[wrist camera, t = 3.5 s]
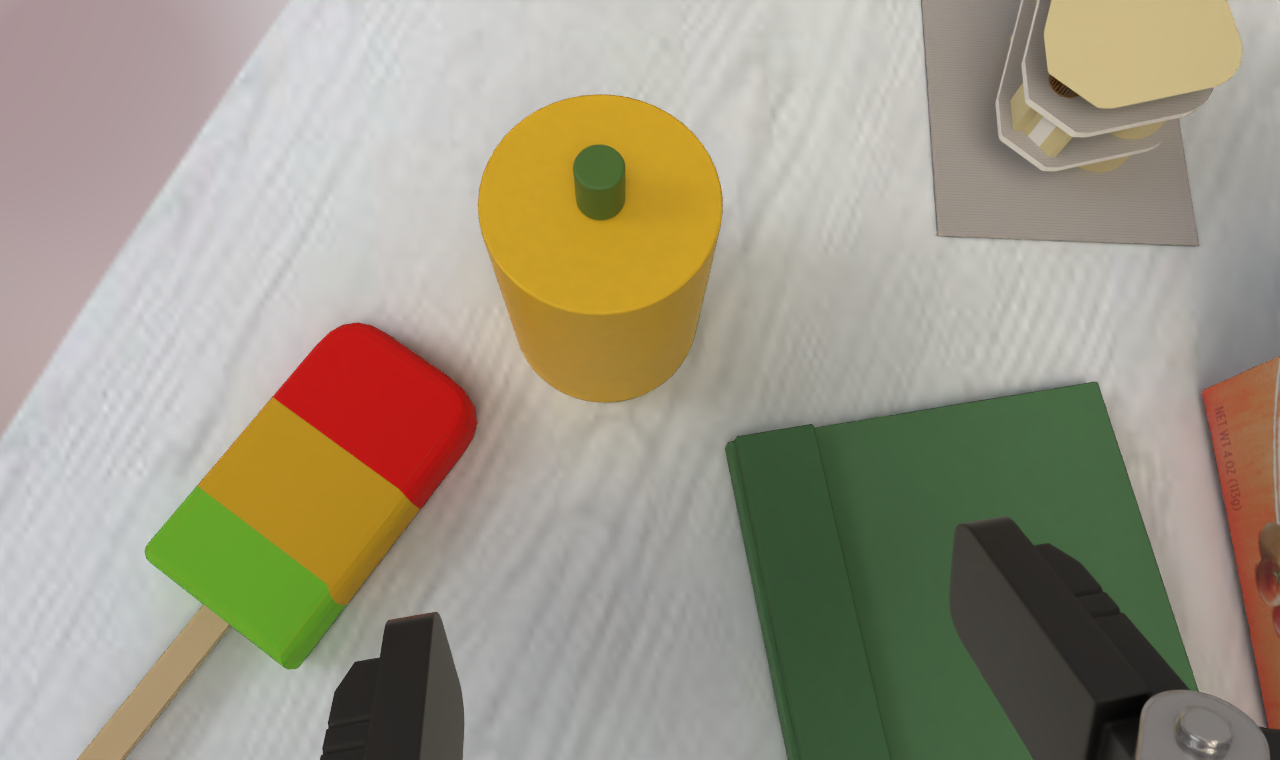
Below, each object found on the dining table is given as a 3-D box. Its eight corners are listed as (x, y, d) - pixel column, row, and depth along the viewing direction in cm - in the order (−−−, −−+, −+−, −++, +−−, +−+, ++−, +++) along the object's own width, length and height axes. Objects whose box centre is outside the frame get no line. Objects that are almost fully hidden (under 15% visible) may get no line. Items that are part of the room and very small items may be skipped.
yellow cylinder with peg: (527, 416, 29) (483, 307, 20) (503, 246, 30) (452, 71, 21) (712, 387, 29) (754, 266, 20) (678, 220, 31) (703, 37, 22)
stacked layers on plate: (920, -9, 34) (976, -131, 28) (1159, 1, 34) (1259, -119, 28) (937, 236, 31) (1003, 151, 25) (1197, 246, 31) (1317, 163, 26)
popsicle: (497, 416, 29) (488, 400, 27) (168, 846, 25) (131, 862, 23) (362, 322, 30) (344, 301, 28) (25, 725, 26) (-21, 731, 24)
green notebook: (841, 1026, 24) (854, 1048, 23) (724, 446, 29) (729, 437, 27) (1262, 936, 25) (1299, 953, 24) (1085, 387, 29) (1107, 375, 28)
